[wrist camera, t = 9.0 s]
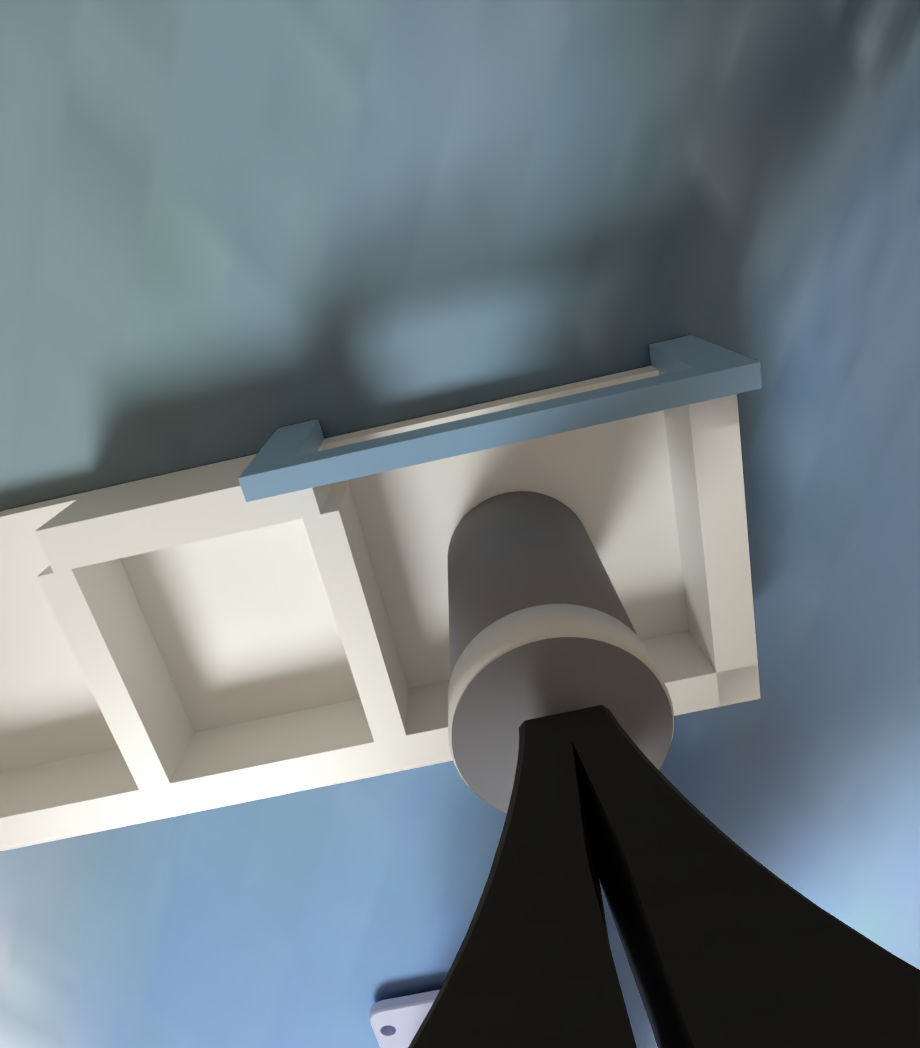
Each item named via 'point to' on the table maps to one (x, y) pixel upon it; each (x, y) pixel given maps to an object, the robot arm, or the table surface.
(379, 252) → the table surface
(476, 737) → the plug
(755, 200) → the table surface
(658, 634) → the compartment tray
